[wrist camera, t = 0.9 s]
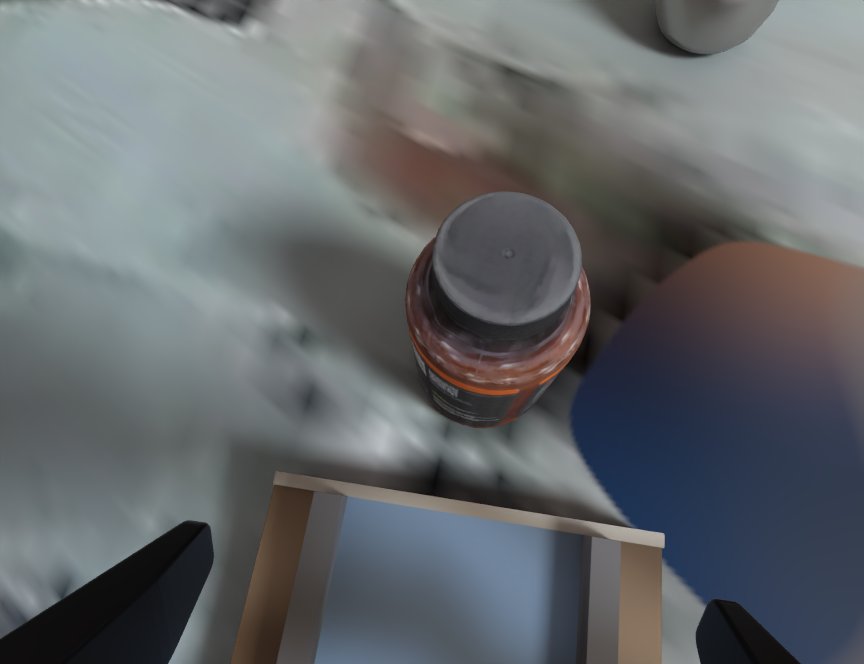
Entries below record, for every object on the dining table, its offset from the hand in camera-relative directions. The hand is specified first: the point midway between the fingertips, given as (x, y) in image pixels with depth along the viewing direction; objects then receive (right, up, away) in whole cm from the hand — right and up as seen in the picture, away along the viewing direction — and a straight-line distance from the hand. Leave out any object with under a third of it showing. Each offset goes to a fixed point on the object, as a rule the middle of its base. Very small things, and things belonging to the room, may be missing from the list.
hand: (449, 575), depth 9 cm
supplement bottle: (+2, +3, +15) cm, 15 cm away
